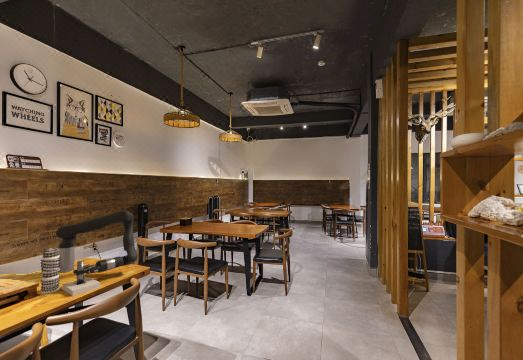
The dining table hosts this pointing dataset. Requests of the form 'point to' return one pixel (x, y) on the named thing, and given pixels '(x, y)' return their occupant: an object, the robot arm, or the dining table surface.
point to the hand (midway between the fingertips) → (74, 272)
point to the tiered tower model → (50, 270)
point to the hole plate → (80, 286)
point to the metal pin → (80, 277)
